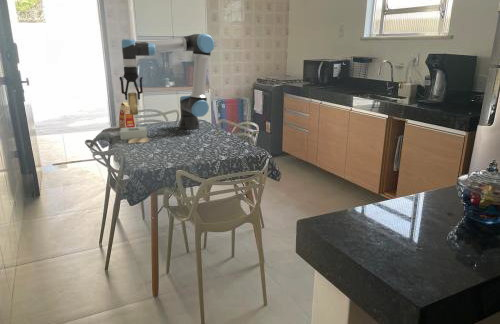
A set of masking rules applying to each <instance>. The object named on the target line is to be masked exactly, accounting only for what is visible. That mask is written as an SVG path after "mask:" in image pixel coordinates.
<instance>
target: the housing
mask: <svg viewBox="0 0 500 324" xmlns="http://www.w3.org/2000/svg"><path fill="white" fill-rule="evenodd" d="M119 130H120V131H119V135H120V136H119V137H120V140H121V141H124V140H129V139H135V138H148V132H147V126H136V127H132V128H121V129H119Z"/></svg>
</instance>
